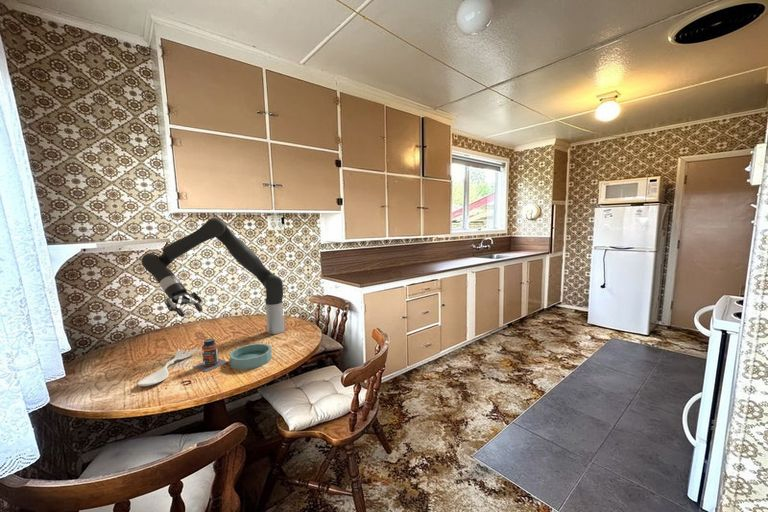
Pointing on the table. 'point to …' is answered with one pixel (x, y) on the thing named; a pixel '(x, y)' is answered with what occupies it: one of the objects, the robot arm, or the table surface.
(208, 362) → the supplement bottle
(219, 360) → the mat
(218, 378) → the table surface
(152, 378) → the spoon
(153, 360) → the table surface
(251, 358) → the bowl
